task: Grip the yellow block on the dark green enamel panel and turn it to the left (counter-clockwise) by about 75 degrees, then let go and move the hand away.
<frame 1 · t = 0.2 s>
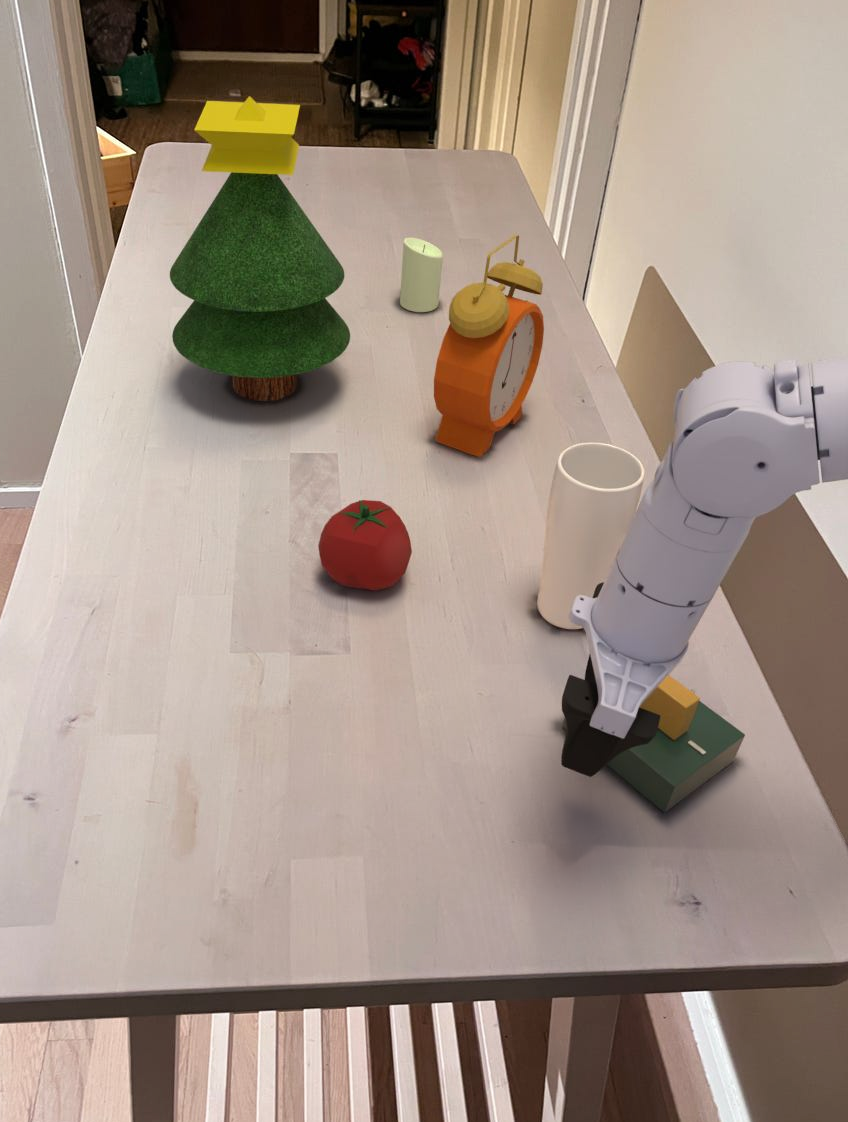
hand: (588, 725, 65), 8 cm above the table, tool pointing down, fingers open, 7 cm apart
tomato: (366, 575, 88), on the table
candle: (418, 305, 129), on the table
yellow block: (662, 699, 72), point 5 cm above the table, hinge at 0.0°
decorative tree: (263, 386, 112), on the table
drinking glass: (566, 613, 86), on the table
knob panel: (646, 743, 75), on the table
alarm clock: (480, 430, 107), on the table
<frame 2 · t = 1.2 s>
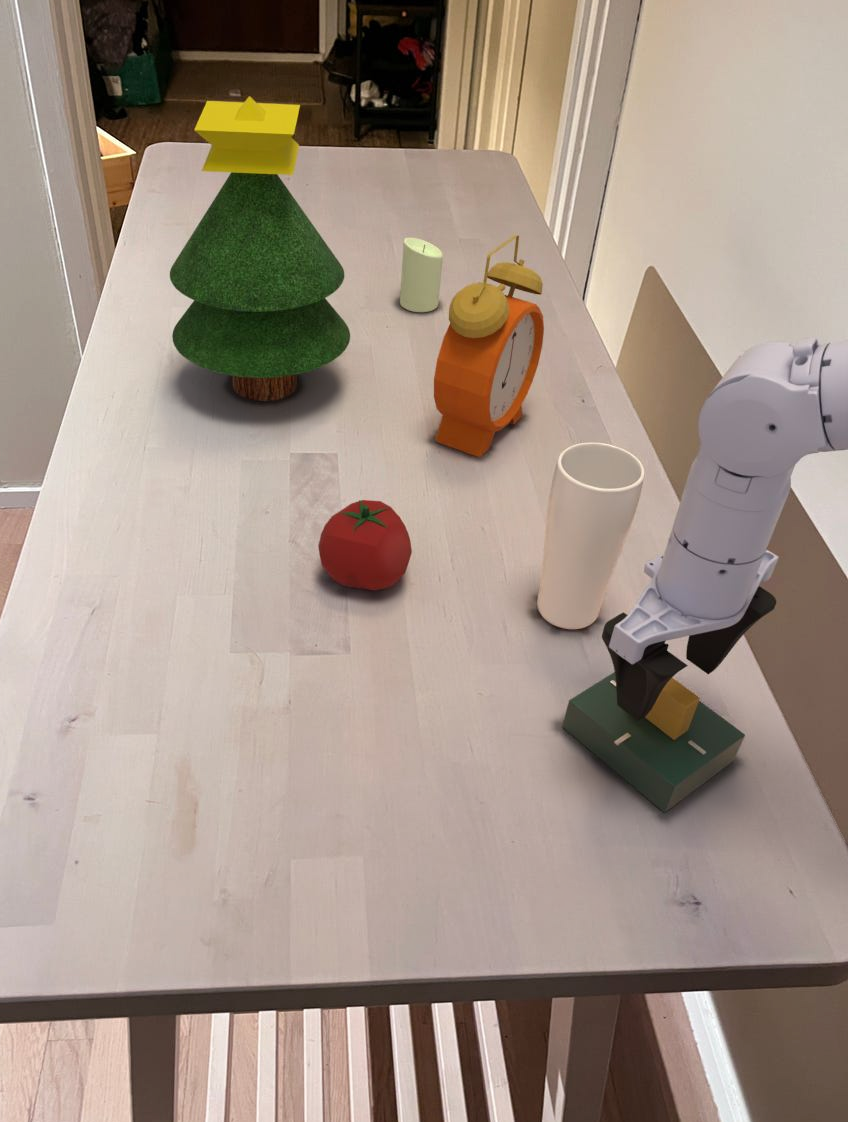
hand: (666, 687, 71), 6 cm above the table, tool pointing down, fingers open, 7 cm apart
nothing on the table moved.
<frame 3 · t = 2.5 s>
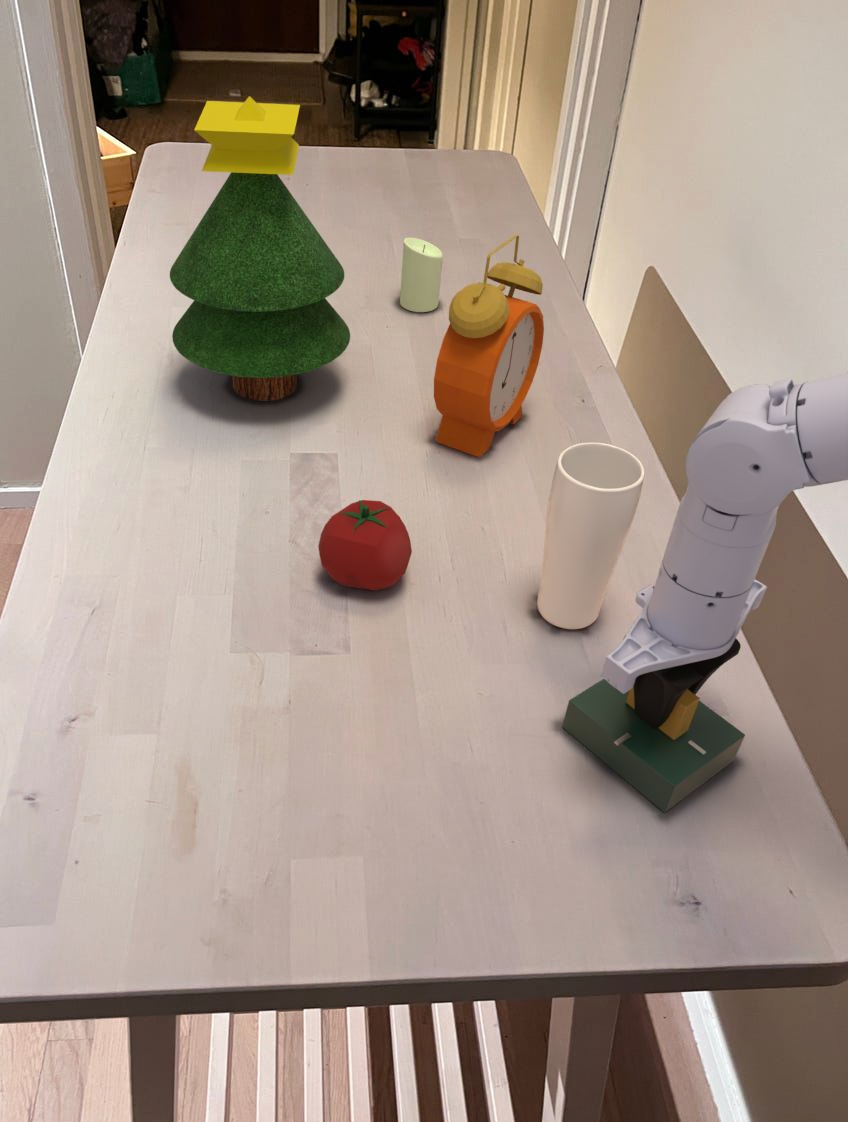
hand: (657, 712, 73), 4 cm above the table, tool pointing down, fingers closed on yellow block, 2 cm apart
yellow block: (662, 699, 72), point 5 cm above the table, hinge at -0.1°, touching gripper
everything else where it was.
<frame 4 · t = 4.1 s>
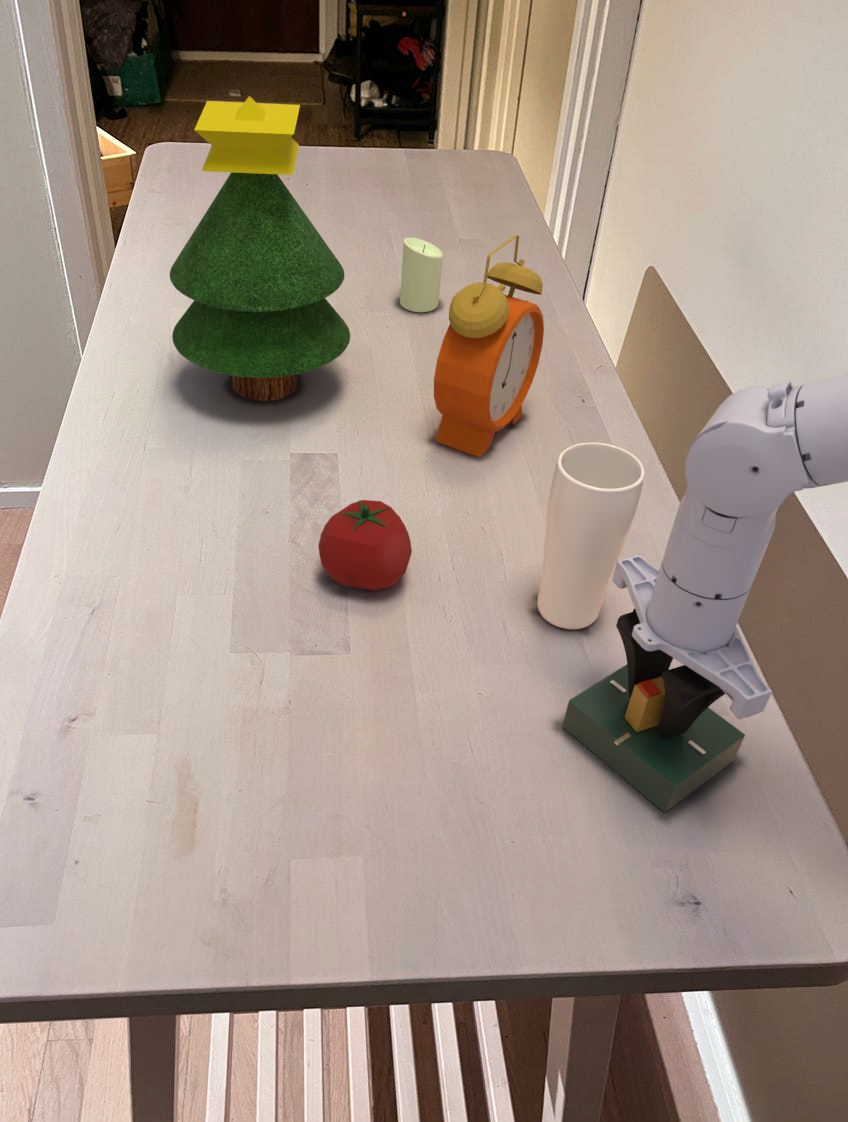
hand: (657, 713, 73), 3 cm above the table, tool pointing down, fingers open, 3 cm apart
yellow block: (662, 699, 72), point 5 cm above the table, hinge at 75.0°
everything else where it was.
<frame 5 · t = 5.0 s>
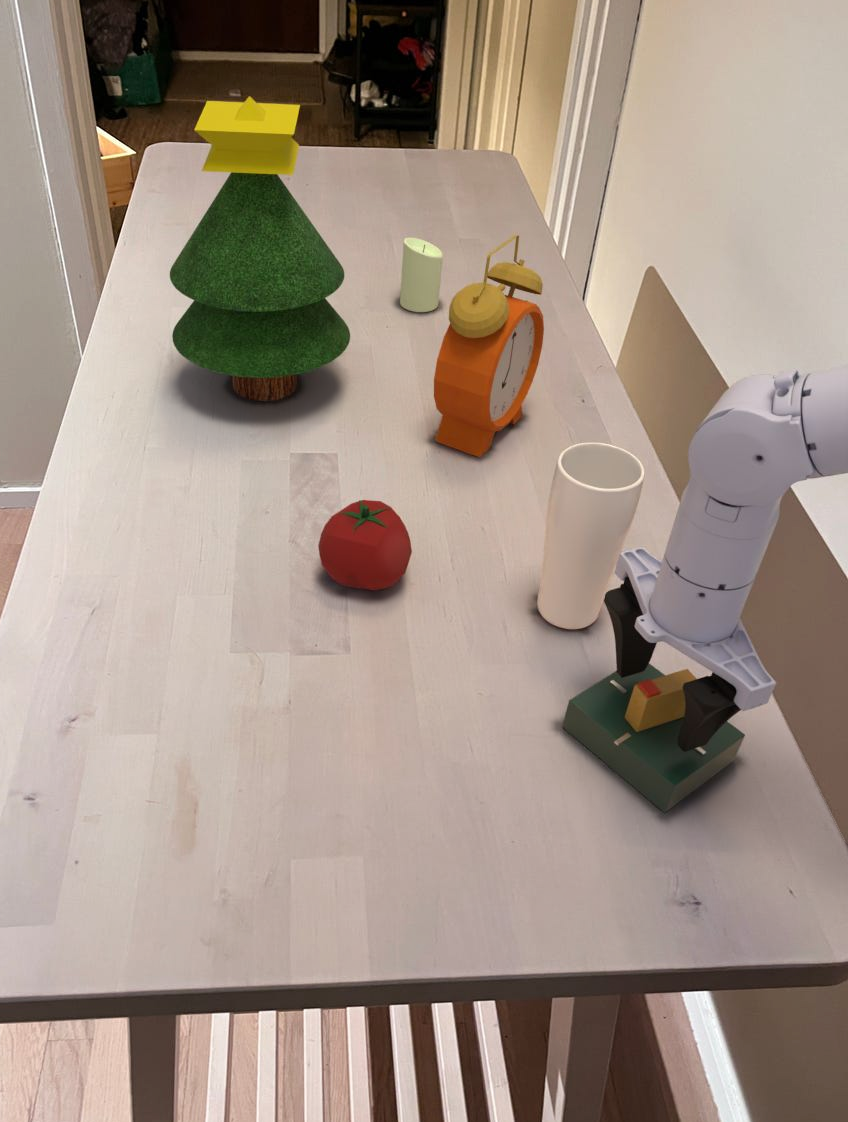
hand: (660, 706, 72), 4 cm above the table, tool pointing down, fingers open, 7 cm apart
nothing on the table moved.
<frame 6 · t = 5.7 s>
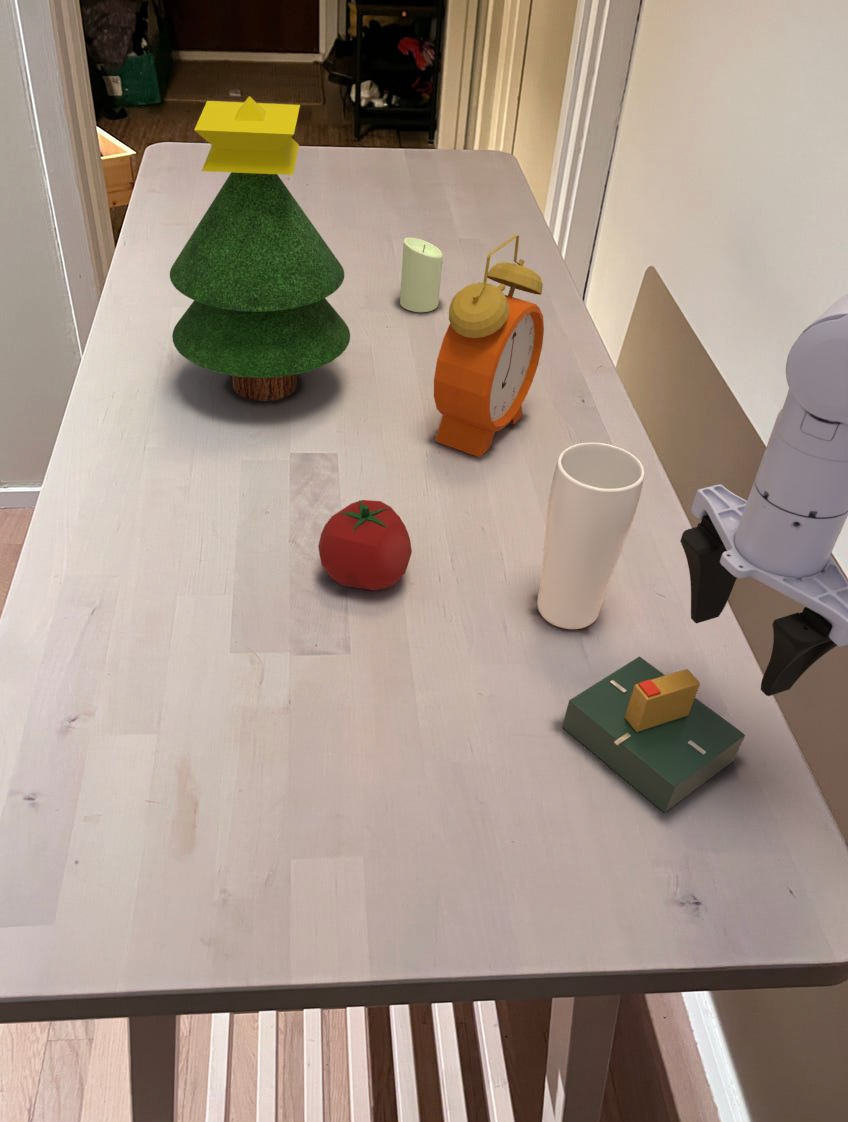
hand: (738, 652, 69), 9 cm above the table, tool pointing down, fingers open, 7 cm apart
nothing on the table moved.
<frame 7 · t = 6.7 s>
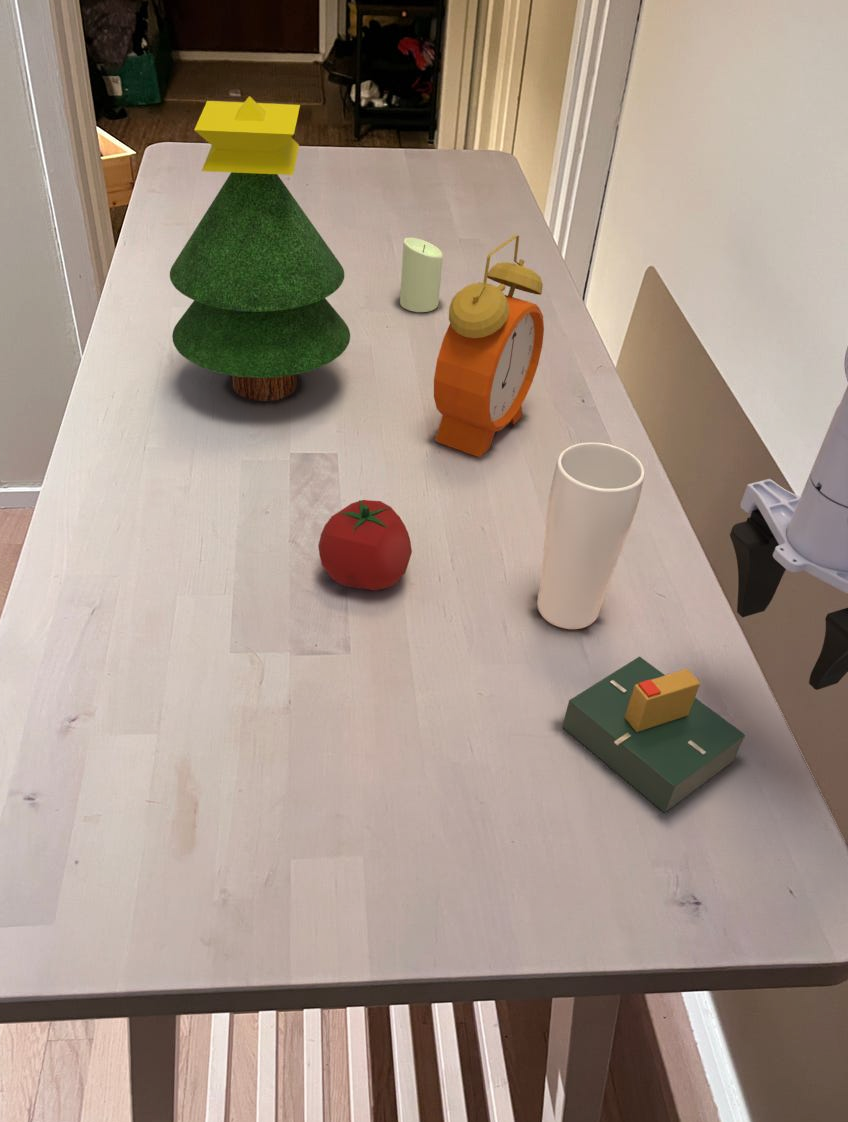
hand: (785, 645, 70), 9 cm above the table, tool pointing down, fingers open, 7 cm apart
nothing on the table moved.
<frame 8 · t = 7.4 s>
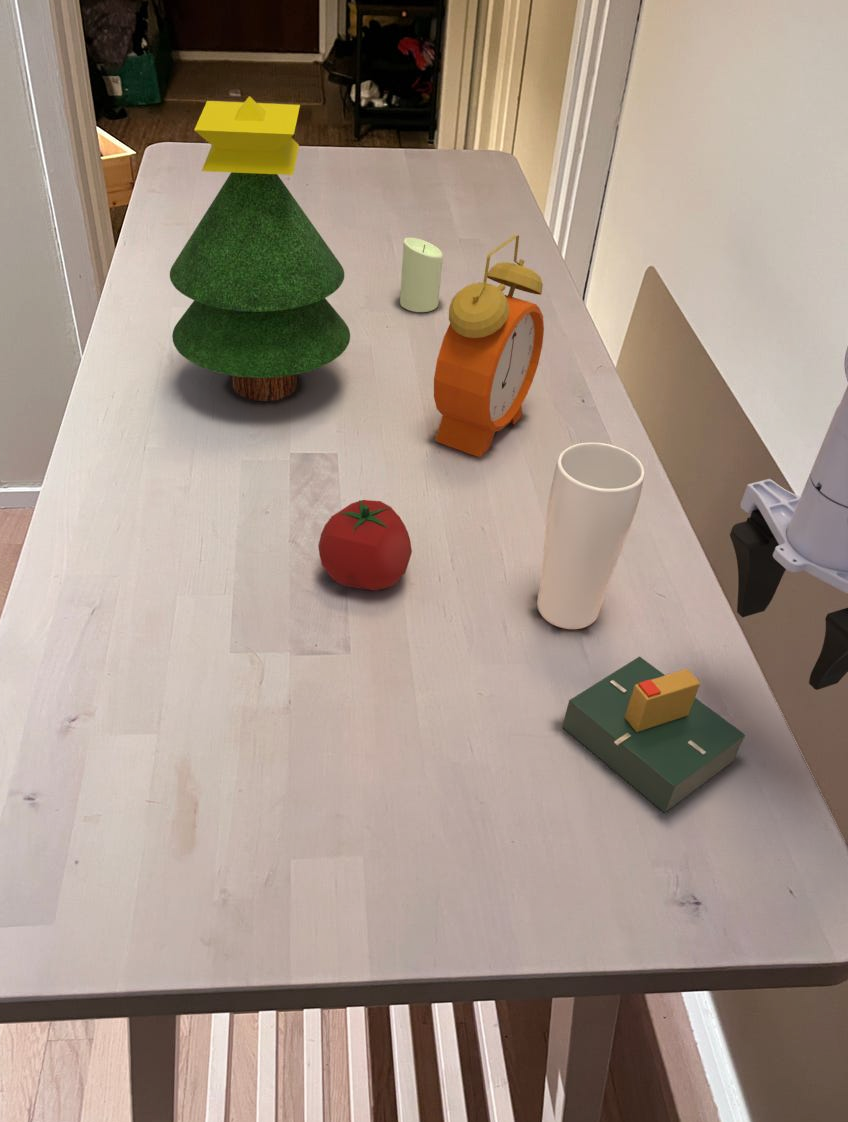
hand: (785, 645, 70), 9 cm above the table, tool pointing down, fingers open, 7 cm apart
nothing on the table moved.
at the end: yellow block at +75° (first picture: +0°); candle moved 0.2 cm from its start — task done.
